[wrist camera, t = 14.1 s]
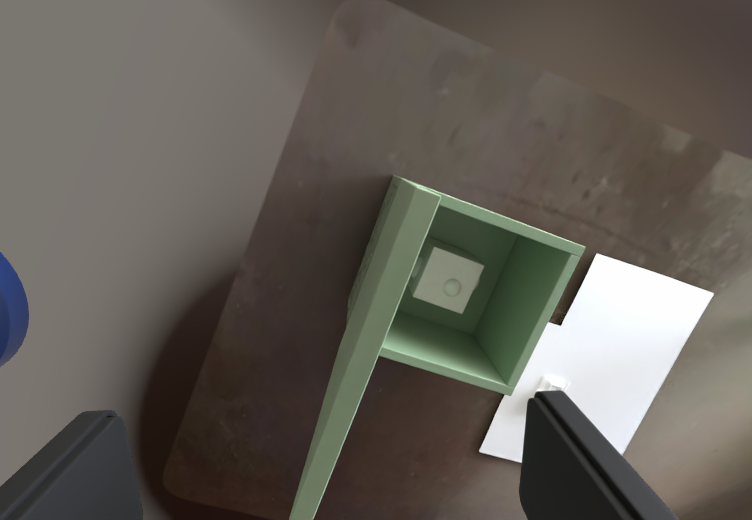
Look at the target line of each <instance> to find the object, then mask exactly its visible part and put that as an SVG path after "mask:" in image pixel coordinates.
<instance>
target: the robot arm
mask: <svg viewBox="0 0 752 520" xmlns="http://www.w3.org/2000/svg"><path fill="white" fill-rule="evenodd" d="M519 495H520V501H521V505H522V507H523V510H524V512H525V514H526V516H527V518H528V520H679V519H678V518H677V517H676V515H675V514H674V513H673V512H672V511H671V510H670V509H669V508H668V507H667V505H666V504H665V503H664V502H663V501H662V500H661V499H660V498H659V497H658V495H657V494H656V493H655V492H654V491H653V490H652V489H651V488H650V487H649V485H648V484H647V483H646V482H645V481H644V480H643V479H642V478H641V477H640V475H639V474H638V473H637V472H636V471H635V470H634V469H633V468H632V467H631V465H630V464H629V463H628V462H627V461H626V460H625V459H624V458H623V457H622V455H621V454H620V453H619V452H618V451H617V450H616V449H615V448H614V447H613V445H612V444H611V443H610V442H609V441H608V440H607V439H606V438H605V437H604V435H603V434H602V433H601V432H600V431H599V430H598V429H597V428H596V427H595V425H594V424H593V423H592V422H591V421H590V420H589V419H588V418H587V417H586V415H585V414H584V413H583V412H582V411H581V410H580V409H579V408H578V407H577V405H576V404H575V403H574V402H573V401H572V400H571V399H570V398H569V397H568V395H567V394H566V393H565V392H563V391H561V390H554V391H537V392H536V393H535V395H534V398H529V400H528V402H527V411H526V422H525V433H524V443H523V454H522V465H521V476H520V487H519ZM142 519H143V509H142V505H141V500H140V495H139V490H138V486H137V481H136V476H135V471H134V466H133V461H132V456H131V451H130V447H129V442H128V437H127V432H126V427H125V422H124V420H123V418H122V417H118V416H117V414H116V413H115V412H114V411H112V410H104V411H86V412H82V413H81V414H79V415H78V416H77V417H76V418H75V419H74V420H73V421H71V423H69V424H68V425H67V426H66V427H65V428H64V429H63V430H62V431H61V432H59V433H58V434H57V435H56V436H55V437H54V438H53V439H52V440H51V441H50V442H49V443H48V444H46V445H45V446H44V447H43V448H42V449H41V450H40V451H39V452H38V453H37V454H36V455H34V456H33V457H32V458H31V459H30V460H29V461H28V462H27V463H26V464H25V465H24V466H23V467H21V468H20V469H19V470H18V471H17V472H16V473H15V474H14V475H13V476H12V477H11V478H9V479H8V480H7V481H6V482H5V483H4V484H3V485H2V486H1V487H0V520H142Z"/></svg>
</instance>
